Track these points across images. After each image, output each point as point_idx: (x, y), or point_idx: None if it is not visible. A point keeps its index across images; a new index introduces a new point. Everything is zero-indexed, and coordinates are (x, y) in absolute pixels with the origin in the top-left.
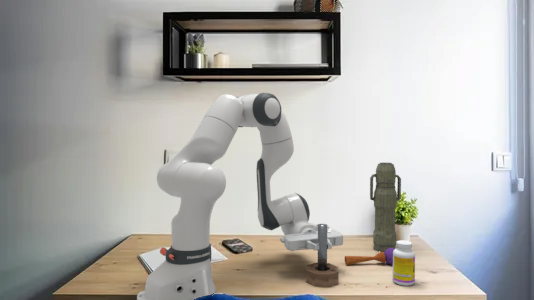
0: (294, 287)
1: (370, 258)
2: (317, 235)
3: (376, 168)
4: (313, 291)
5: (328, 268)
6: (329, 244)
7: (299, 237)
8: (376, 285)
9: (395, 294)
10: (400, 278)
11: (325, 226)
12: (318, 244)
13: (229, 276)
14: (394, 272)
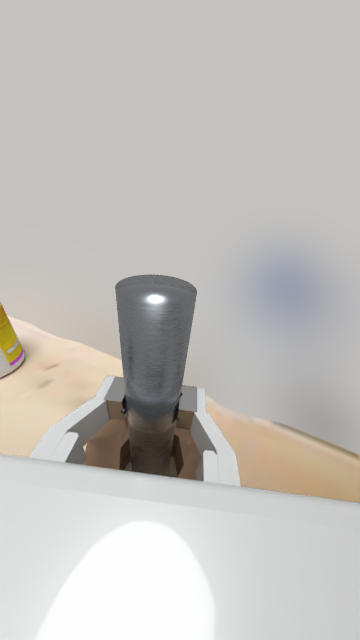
0: (259, 463)
1: None
2: (44, 592)
3: None
4: (213, 414)
5: (120, 460)
6: (121, 378)
7: (332, 608)
8: (60, 378)
9: (80, 343)
10: (20, 346)
11: (157, 278)
12: (181, 390)
13: None
14: (7, 351)
